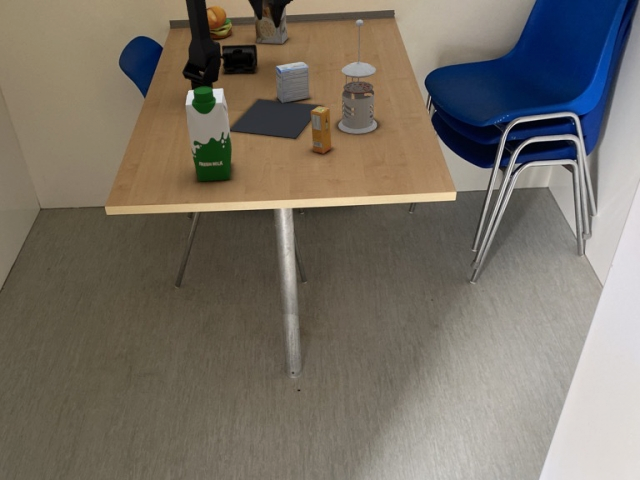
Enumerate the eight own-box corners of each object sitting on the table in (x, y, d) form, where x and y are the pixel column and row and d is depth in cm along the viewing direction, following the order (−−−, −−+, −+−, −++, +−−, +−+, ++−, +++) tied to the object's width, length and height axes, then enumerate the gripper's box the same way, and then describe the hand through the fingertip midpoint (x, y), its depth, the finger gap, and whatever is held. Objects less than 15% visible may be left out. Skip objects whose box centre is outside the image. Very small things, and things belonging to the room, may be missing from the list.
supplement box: (320, 145, 163) (319, 105, 156) (331, 149, 161) (331, 108, 154) (311, 150, 161) (310, 110, 154) (323, 154, 159) (322, 113, 152)
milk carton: (194, 183, 152) (180, 96, 138) (197, 164, 158) (184, 79, 145) (233, 181, 151) (223, 93, 138) (234, 162, 158) (225, 76, 145)
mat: (295, 138, 166) (295, 137, 166) (229, 130, 171) (228, 130, 171) (321, 106, 180) (321, 105, 180) (258, 99, 185) (258, 99, 185)
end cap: (258, 64, 205) (256, 41, 201) (256, 73, 200) (254, 49, 195) (225, 65, 206) (223, 42, 201) (222, 74, 201) (219, 50, 196)
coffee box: (288, 37, 222) (285, -16, 211) (282, 44, 217) (279, -10, 207) (261, 36, 224) (258, -17, 214) (255, 43, 220) (251, -11, 209)
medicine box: (303, 93, 187) (302, 61, 181) (309, 98, 184) (309, 66, 178) (276, 98, 185) (275, 65, 179) (282, 103, 182) (281, 70, 176)
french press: (345, 136, 166) (346, 29, 149) (330, 117, 174) (329, 14, 158) (383, 129, 167) (387, 23, 151) (366, 111, 176) (369, 8, 159)
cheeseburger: (240, 31, 229) (233, 2, 221) (223, 48, 224) (215, 20, 216) (216, 27, 233) (208, -2, 225) (198, 44, 228) (190, 15, 220)
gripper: (309, -38, 177) (311, 25, 187) (272, -50, 189) (275, 10, 199) (273, -30, 172) (276, 34, 183) (237, -43, 184) (242, 18, 195)
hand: (268, 23), depth 190 cm, fingers open, 9 cm apart
